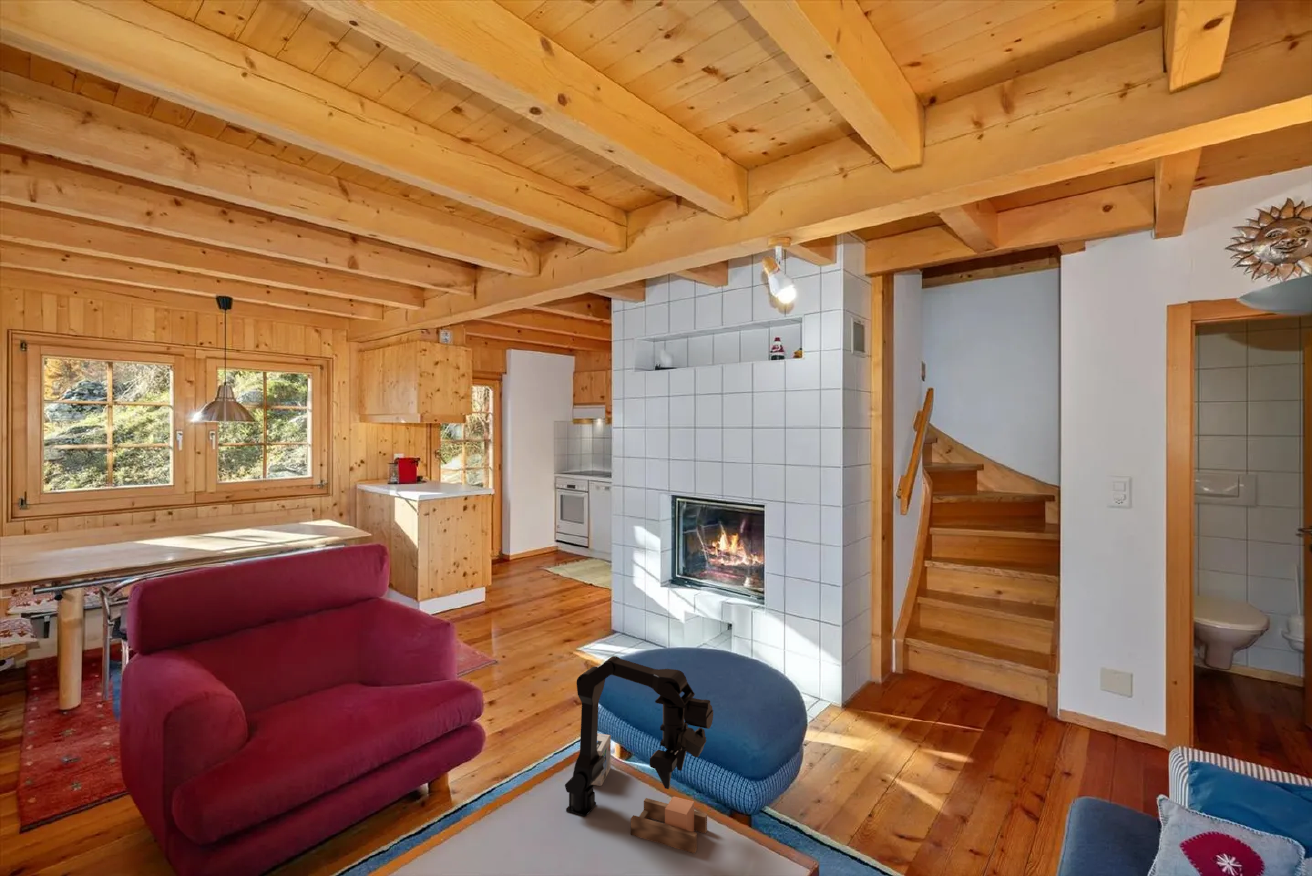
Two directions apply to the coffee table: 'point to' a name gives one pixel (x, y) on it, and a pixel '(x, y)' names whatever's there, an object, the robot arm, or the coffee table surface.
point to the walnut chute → (666, 827)
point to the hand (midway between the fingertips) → (673, 779)
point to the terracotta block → (680, 813)
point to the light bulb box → (605, 751)
